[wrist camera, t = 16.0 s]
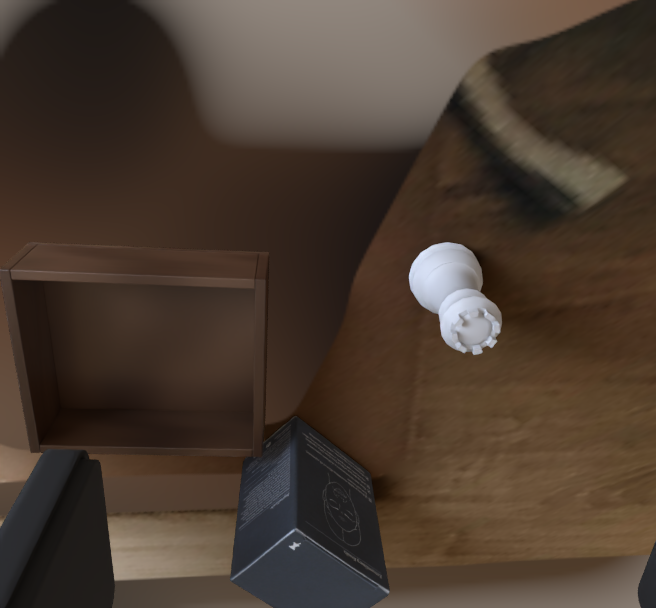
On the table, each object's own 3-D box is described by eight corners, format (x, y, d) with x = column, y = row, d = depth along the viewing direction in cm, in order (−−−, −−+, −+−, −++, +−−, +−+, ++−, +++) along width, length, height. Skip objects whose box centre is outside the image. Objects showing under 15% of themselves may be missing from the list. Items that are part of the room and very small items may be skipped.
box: (241, 459, 45) (226, 582, 35) (296, 412, 43) (296, 526, 34) (319, 516, 47) (324, 644, 38) (373, 473, 46) (393, 595, 36)
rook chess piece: (481, 238, 38) (524, 292, 31) (474, 304, 40) (513, 369, 33) (409, 239, 38) (435, 294, 31) (405, 306, 40) (429, 371, 33)
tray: (54, 412, 42) (30, 453, 38) (29, 242, 37) (-3, 269, 33) (265, 417, 43) (262, 457, 39) (269, 251, 38) (266, 279, 34)
